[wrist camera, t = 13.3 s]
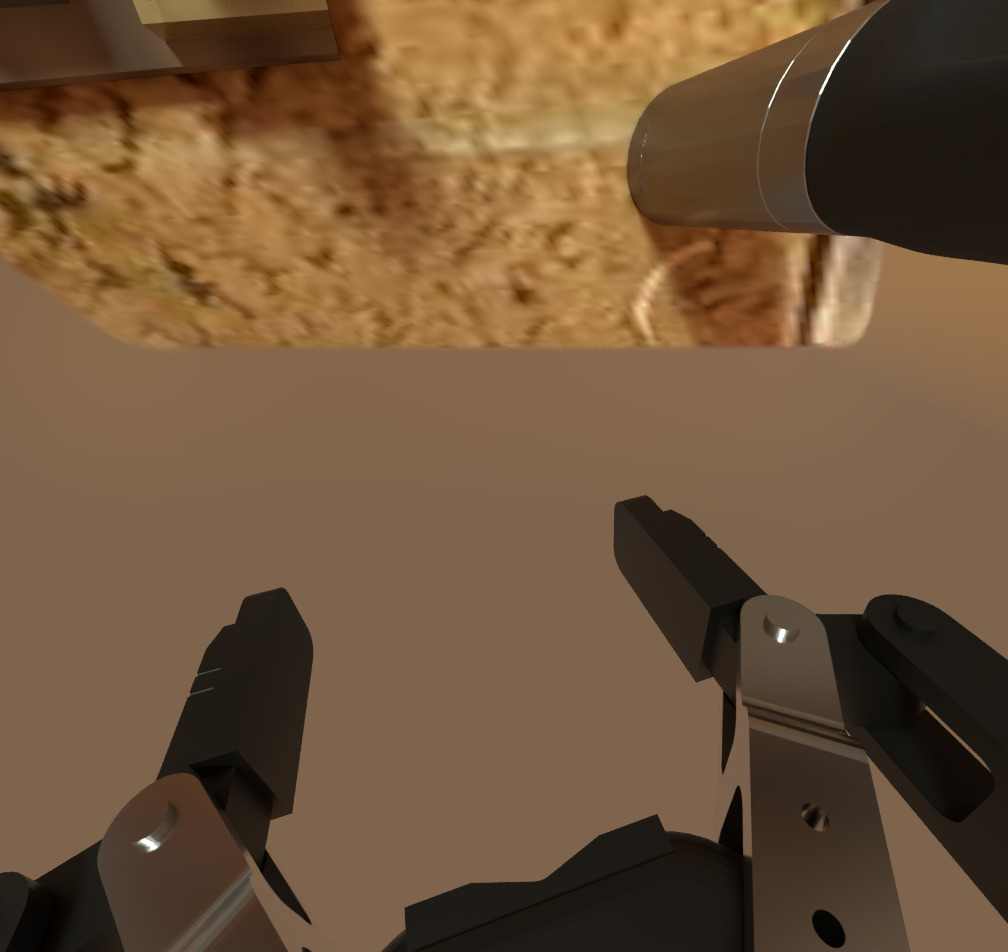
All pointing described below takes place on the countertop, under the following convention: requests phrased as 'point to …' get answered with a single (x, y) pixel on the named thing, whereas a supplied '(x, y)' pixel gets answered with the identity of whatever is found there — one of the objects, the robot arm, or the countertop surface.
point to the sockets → (219, 17)
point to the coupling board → (129, 47)
